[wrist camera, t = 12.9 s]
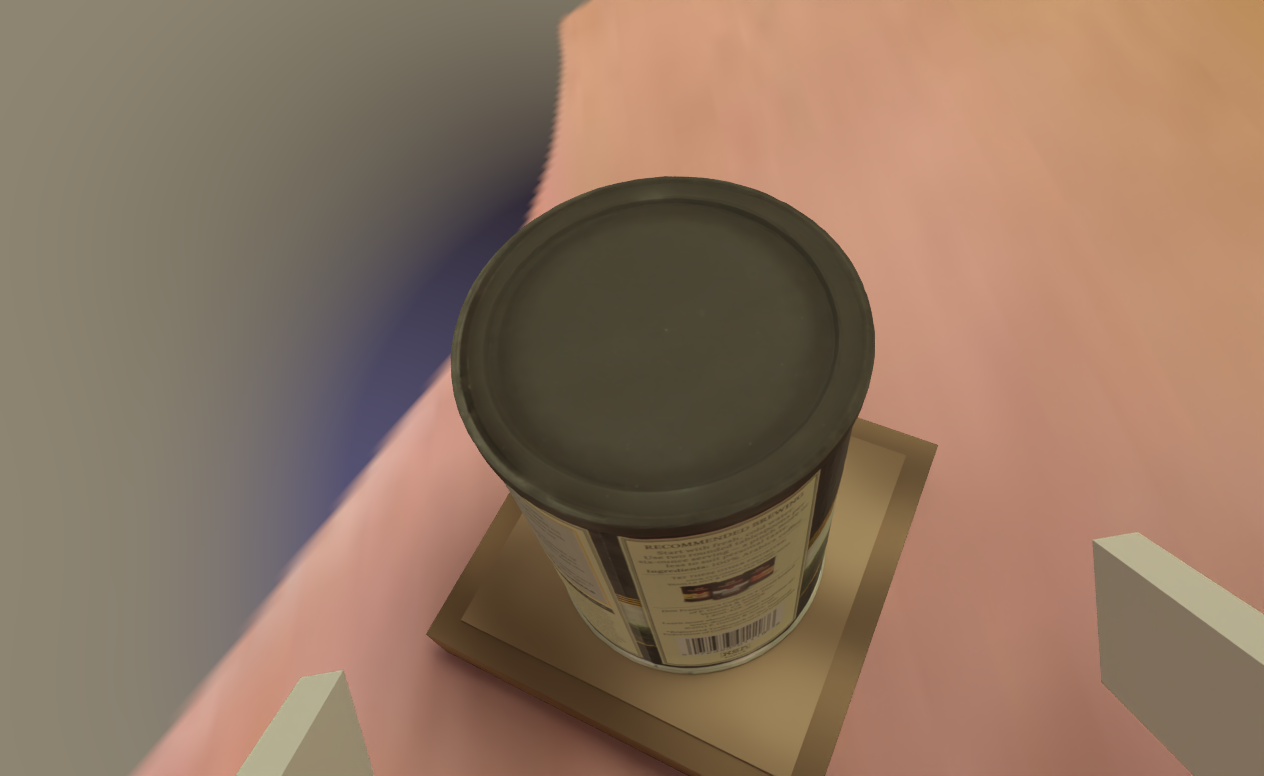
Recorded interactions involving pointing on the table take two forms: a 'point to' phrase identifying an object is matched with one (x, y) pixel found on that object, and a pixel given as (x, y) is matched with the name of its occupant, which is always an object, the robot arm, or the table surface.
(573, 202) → the coffee can
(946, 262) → the table surface
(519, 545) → the walnut board
